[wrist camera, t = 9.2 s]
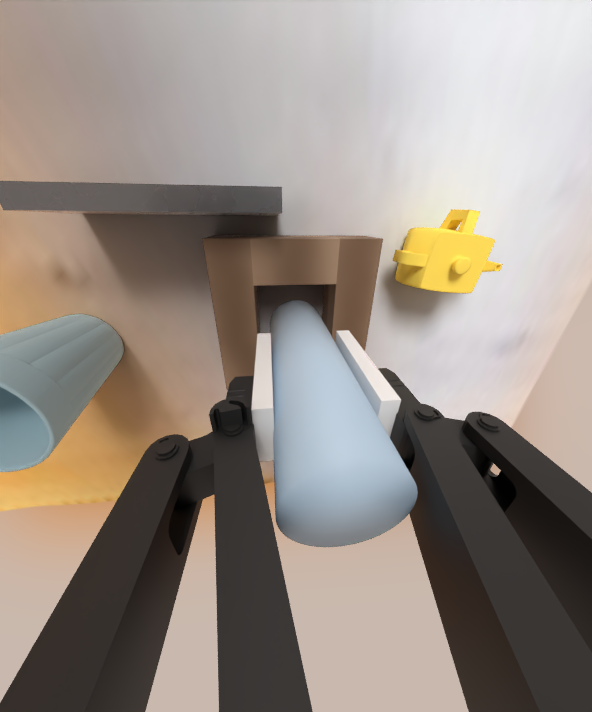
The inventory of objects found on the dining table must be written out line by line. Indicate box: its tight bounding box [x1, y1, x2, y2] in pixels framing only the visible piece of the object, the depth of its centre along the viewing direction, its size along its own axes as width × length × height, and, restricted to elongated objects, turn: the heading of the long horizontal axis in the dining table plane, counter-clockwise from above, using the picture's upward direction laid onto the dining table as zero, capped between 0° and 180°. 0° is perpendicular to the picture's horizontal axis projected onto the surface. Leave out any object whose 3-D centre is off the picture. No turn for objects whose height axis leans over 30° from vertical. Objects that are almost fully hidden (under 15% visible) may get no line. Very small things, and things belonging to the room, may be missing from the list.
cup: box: [0, 314, 124, 472], centre depth 17 cm, size 8×8×10 cm
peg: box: [270, 300, 418, 547], centre depth 13 cm, size 4×4×14 cm
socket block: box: [202, 235, 383, 390], centre depth 21 cm, size 12×12×4 cm
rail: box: [0, 181, 282, 215], centre depth 15 cm, size 14×1×6 cm, turn 90°
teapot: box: [393, 210, 503, 293], centre depth 19 cm, size 8×6×5 cm
